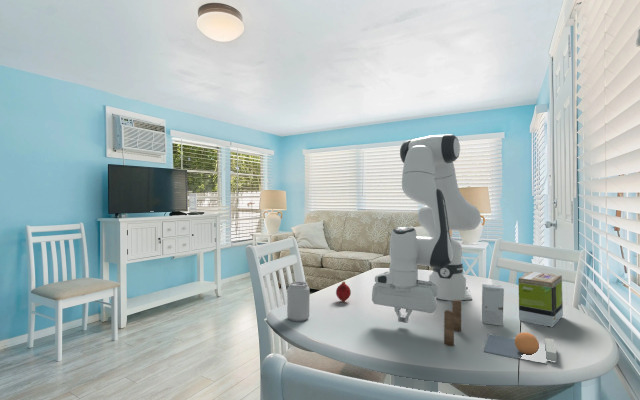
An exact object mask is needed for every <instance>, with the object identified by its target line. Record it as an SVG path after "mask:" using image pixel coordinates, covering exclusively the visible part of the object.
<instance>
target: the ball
mask: <svg viewBox="0 0 640 400" xmlns="http://www.w3.org/2000/svg"><path fill="white" fill-rule="evenodd" d="M514 339H515V346H516V348H517V349H518V350H519V351H520V352H521V353H523V354H526V355H532V354H534V353H536V352H537V351H538V349H539V343H540V342H539V340H538V339H537V337H536V336H535V335H533V334H532V333H530V332H527V331H524V332H523V331H522V332H519V333H518V334H517V335H516V336H515V338H514Z"/></svg>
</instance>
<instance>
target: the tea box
mask: <svg viewBox="0 0 640 400" xmlns="http://www.w3.org/2000/svg"><path fill="white" fill-rule="evenodd" d="M563 303H564V302H563V275H560V274H552V273H544V272H536V271H534V272H533V271H530V272H528V273H527V274H526V273H525V274H524V275H522V276H520V277H519V278H518V320H519V322H520V321H521V322H524V321H525V323H529V322H530V324H533V323H535V324H534V325H538V324H539V326H542V325H544V326H543V327H547V326H550V327H549V328H553V327H554V326H555V325H557V323H558V322H559V321H560V320H561V319H562V318H563V317H564V311H563V310H564V307H563V305H564V304H563ZM562 316H563V317H562ZM561 317H562V318H561ZM560 318H561V319H560ZM559 319H560V320H559Z"/></svg>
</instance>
